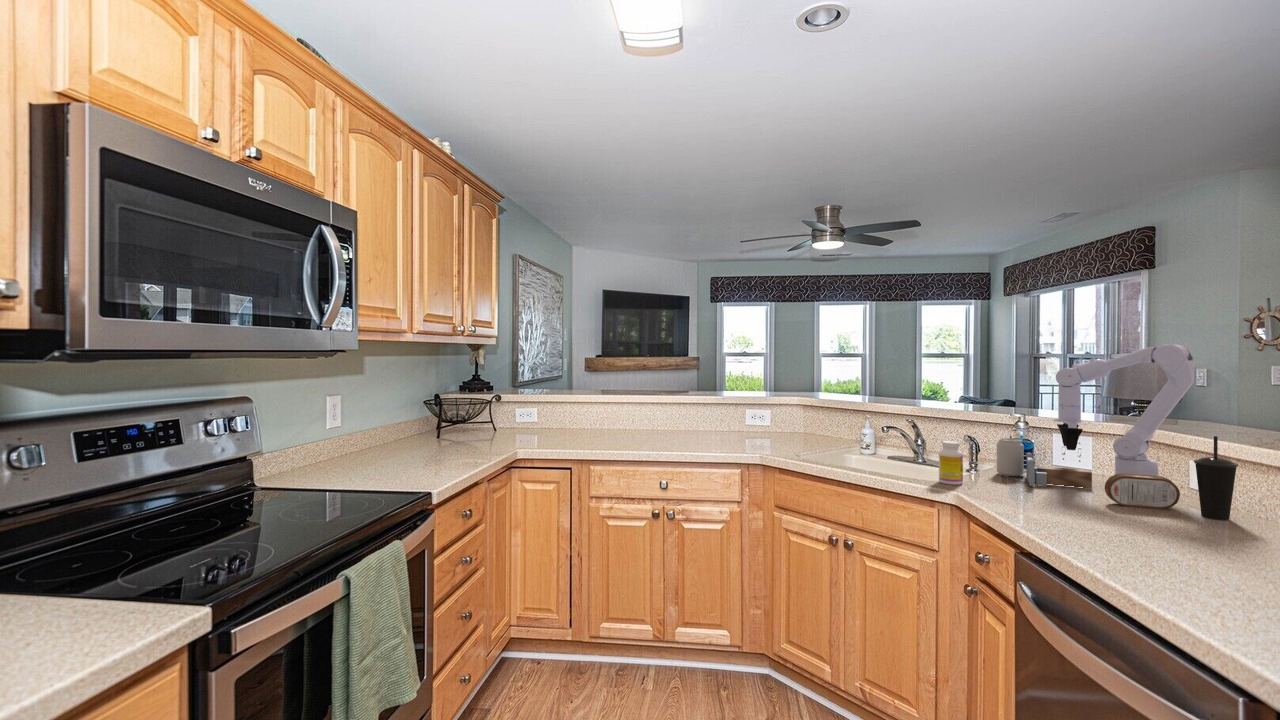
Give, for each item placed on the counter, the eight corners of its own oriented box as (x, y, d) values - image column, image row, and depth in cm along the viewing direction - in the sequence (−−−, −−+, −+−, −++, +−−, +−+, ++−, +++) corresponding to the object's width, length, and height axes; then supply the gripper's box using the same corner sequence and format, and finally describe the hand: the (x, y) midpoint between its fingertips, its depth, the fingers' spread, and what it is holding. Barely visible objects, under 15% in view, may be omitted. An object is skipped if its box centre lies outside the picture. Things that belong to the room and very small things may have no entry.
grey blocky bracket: (1042, 478, 181) (1042, 453, 181) (1047, 488, 169) (1047, 460, 169) (1025, 477, 184) (1025, 451, 183) (1028, 486, 171) (1028, 459, 171)
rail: (1089, 486, 171) (1089, 469, 171) (1091, 489, 168) (1091, 472, 168) (1037, 481, 178) (1037, 465, 178) (1038, 484, 174) (1038, 468, 174)
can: (1029, 477, 183) (1029, 440, 183) (1005, 477, 184) (1005, 440, 183) (1014, 472, 191) (1014, 437, 191) (991, 472, 191) (991, 437, 191)
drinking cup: (1230, 524, 134) (1230, 439, 133) (1187, 515, 140) (1188, 435, 140) (1243, 519, 137) (1243, 437, 137) (1201, 511, 144) (1201, 433, 144)
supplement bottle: (964, 486, 173) (964, 444, 173) (940, 484, 176) (940, 443, 175) (961, 481, 179) (961, 441, 179) (937, 479, 182) (937, 440, 182)
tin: (1176, 508, 147) (1176, 476, 147) (1181, 511, 144) (1182, 478, 144) (1104, 502, 153) (1104, 471, 153) (1107, 505, 151) (1107, 474, 150)
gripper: (1051, 403, 189) (1051, 443, 189) (1056, 407, 176) (1056, 450, 176) (1078, 404, 185) (1078, 445, 185) (1085, 408, 173) (1085, 452, 173)
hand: (1069, 448), depth 181 cm, fingers open, 7 cm apart
